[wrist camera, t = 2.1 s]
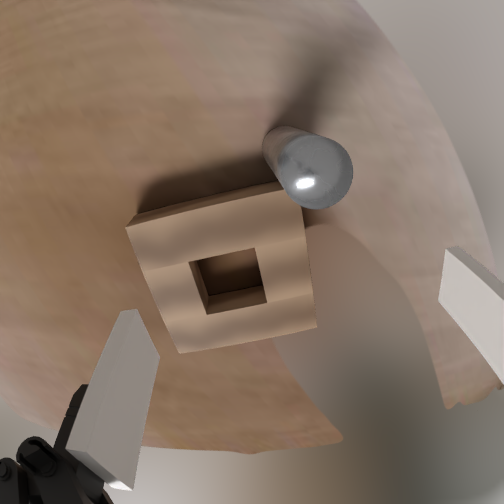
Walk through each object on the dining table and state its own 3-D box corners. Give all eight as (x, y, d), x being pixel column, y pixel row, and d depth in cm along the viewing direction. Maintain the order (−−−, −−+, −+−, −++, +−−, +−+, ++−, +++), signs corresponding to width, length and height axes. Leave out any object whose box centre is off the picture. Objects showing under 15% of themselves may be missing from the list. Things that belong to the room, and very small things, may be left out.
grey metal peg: (257, 130, 27) (274, 143, 17) (303, 122, 27) (348, 132, 17) (267, 174, 29) (288, 215, 19) (311, 166, 29) (356, 202, 18)
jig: (135, 214, 30) (125, 227, 27) (290, 178, 30) (297, 186, 26) (182, 334, 37) (179, 353, 34) (310, 309, 37) (317, 327, 34)
